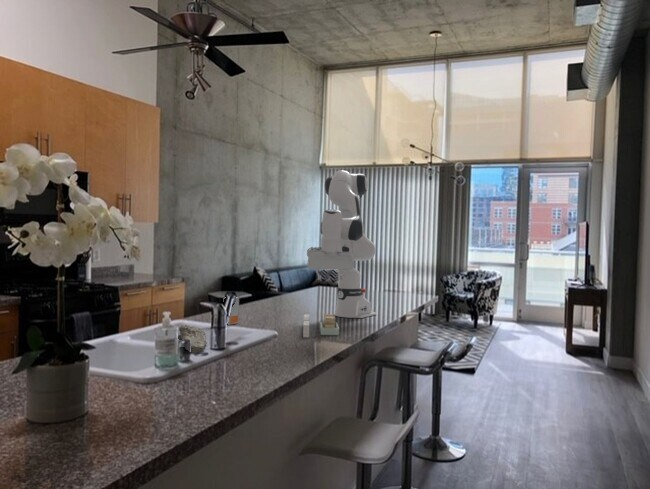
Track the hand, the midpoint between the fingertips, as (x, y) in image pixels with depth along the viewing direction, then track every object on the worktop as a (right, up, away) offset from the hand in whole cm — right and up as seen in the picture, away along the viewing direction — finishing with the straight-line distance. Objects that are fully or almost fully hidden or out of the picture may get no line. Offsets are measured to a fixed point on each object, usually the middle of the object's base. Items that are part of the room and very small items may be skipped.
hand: (330, 279), depth 223 cm
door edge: (-10, -22, +1) cm, 24 cm away
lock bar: (-1, -22, +1) cm, 22 cm away
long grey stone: (-53, -23, -25) cm, 63 cm away
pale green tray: (-1, -22, +1) cm, 22 cm away
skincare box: (-45, -21, +13) cm, 52 cm away
